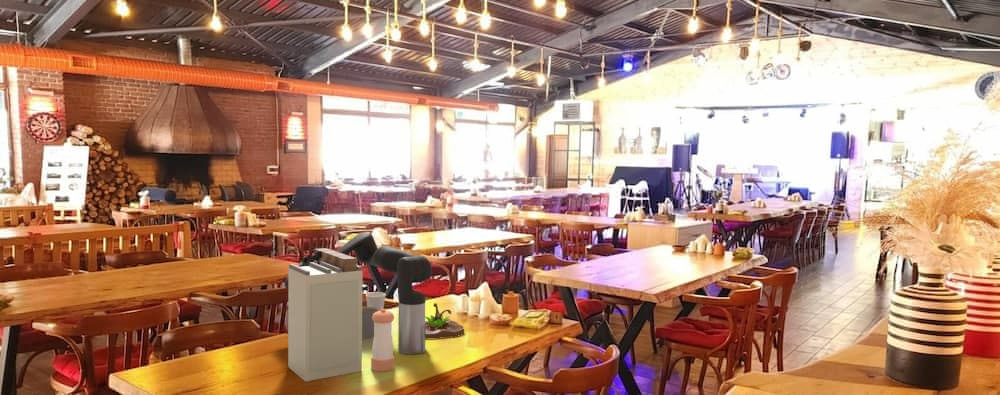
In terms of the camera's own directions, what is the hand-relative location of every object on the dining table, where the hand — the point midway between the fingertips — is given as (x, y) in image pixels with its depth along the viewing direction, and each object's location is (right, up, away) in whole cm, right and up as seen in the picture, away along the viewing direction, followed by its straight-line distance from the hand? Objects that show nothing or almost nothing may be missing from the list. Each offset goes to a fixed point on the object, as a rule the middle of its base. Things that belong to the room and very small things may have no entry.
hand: (327, 252), depth 215 cm
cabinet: (+2, -36, -10) cm, 38 cm away
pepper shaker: (+20, -37, -8) cm, 42 cm away
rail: (+4, -4, -5) cm, 7 cm away
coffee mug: (+5, -34, +31) cm, 46 cm away
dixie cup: (+5, -33, +57) cm, 66 cm away
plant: (+33, -35, +38) cm, 61 cm away
